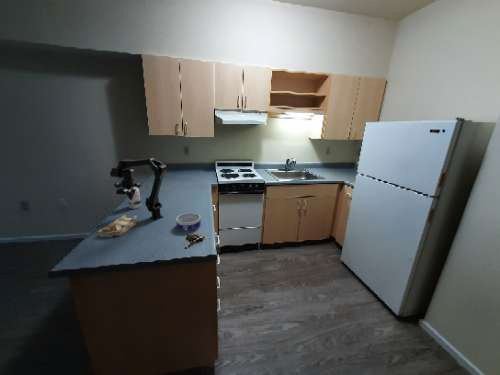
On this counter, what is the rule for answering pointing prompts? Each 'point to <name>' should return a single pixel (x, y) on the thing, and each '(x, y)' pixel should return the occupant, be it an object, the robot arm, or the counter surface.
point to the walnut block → (110, 228)
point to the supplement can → (135, 200)
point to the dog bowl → (188, 221)
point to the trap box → (120, 226)
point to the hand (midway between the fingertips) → (130, 199)
